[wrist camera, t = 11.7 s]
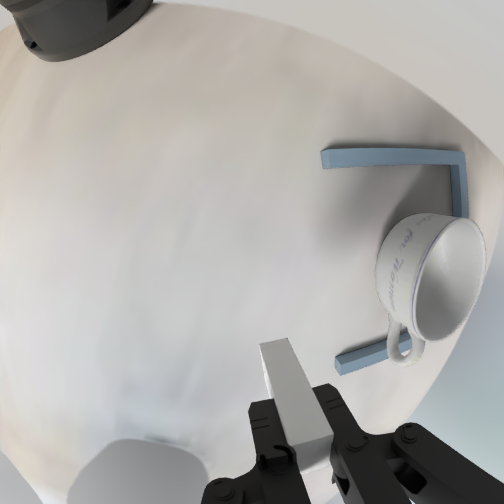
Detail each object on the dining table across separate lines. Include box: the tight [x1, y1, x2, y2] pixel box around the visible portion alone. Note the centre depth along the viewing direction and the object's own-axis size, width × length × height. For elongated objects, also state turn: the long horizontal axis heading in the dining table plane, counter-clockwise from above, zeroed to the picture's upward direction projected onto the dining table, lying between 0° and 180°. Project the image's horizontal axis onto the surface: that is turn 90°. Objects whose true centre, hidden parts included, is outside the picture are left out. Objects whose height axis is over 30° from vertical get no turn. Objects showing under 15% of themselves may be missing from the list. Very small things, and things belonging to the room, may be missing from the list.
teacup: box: [375, 213, 486, 367], centre depth 21 cm, size 14×11×8 cm
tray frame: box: [321, 148, 469, 376], centre depth 24 cm, size 22×18×2 cm
